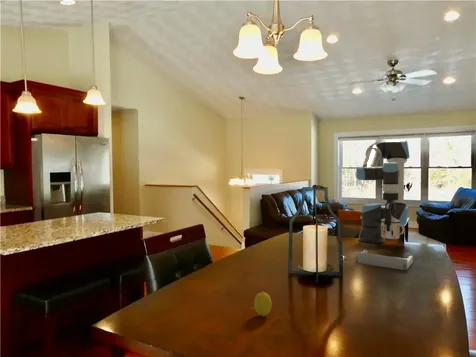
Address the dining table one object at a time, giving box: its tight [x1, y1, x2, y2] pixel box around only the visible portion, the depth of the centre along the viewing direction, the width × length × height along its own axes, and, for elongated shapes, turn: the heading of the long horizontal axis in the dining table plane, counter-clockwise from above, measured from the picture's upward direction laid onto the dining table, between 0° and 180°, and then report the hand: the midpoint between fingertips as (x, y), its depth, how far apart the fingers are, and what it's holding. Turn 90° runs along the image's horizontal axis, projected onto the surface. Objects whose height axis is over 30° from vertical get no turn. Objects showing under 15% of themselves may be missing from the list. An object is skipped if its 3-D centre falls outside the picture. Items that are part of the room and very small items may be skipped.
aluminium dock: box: [354, 249, 414, 271], centre depth 167 cm, size 16×23×5 cm
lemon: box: [253, 291, 272, 318], centre depth 108 cm, size 6×6×8 cm
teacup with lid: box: [381, 216, 406, 240], centre depth 177 cm, size 12×9×12 cm
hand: (390, 236), depth 178 cm, fingers closed on teacup with lid, 7 cm apart
